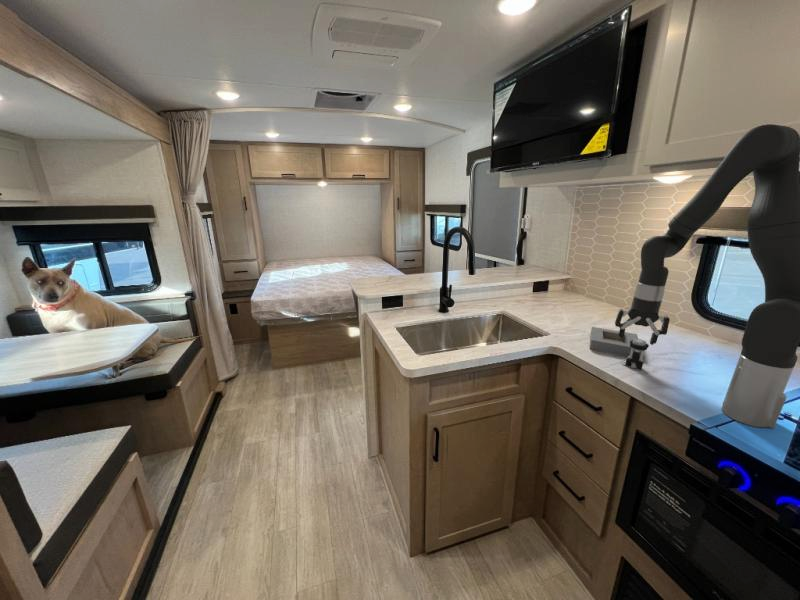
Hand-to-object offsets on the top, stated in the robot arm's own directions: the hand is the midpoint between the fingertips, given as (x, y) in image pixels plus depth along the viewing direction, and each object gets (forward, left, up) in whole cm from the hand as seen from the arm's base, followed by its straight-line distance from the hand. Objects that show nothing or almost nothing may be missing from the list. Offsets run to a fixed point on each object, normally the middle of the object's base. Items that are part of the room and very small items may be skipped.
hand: (636, 341), depth 110 cm
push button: (0, 0, -10) cm, 10 cm away
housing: (+5, -16, -10) cm, 19 cm away
